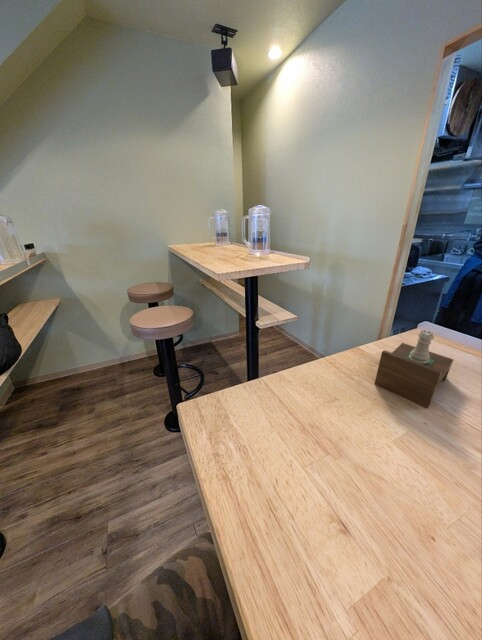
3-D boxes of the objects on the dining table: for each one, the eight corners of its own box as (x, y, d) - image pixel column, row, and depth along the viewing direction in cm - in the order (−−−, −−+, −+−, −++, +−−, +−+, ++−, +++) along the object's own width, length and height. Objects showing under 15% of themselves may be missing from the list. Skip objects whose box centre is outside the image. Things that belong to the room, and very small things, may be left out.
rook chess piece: (416, 353, 67) (425, 327, 64) (433, 362, 63) (442, 334, 60) (404, 357, 66) (411, 330, 63) (419, 366, 62) (428, 338, 59)
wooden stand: (397, 359, 75) (405, 330, 71) (446, 378, 67) (458, 346, 63) (374, 384, 66) (381, 351, 62) (427, 408, 58) (440, 373, 54)
